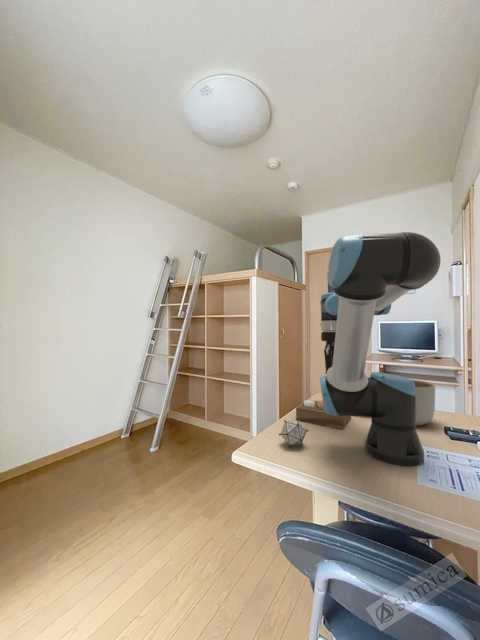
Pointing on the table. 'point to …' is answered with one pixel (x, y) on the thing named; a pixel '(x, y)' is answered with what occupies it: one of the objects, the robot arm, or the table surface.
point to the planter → (424, 402)
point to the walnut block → (320, 416)
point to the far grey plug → (309, 403)
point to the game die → (293, 432)
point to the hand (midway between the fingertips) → (331, 390)
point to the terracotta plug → (320, 404)
